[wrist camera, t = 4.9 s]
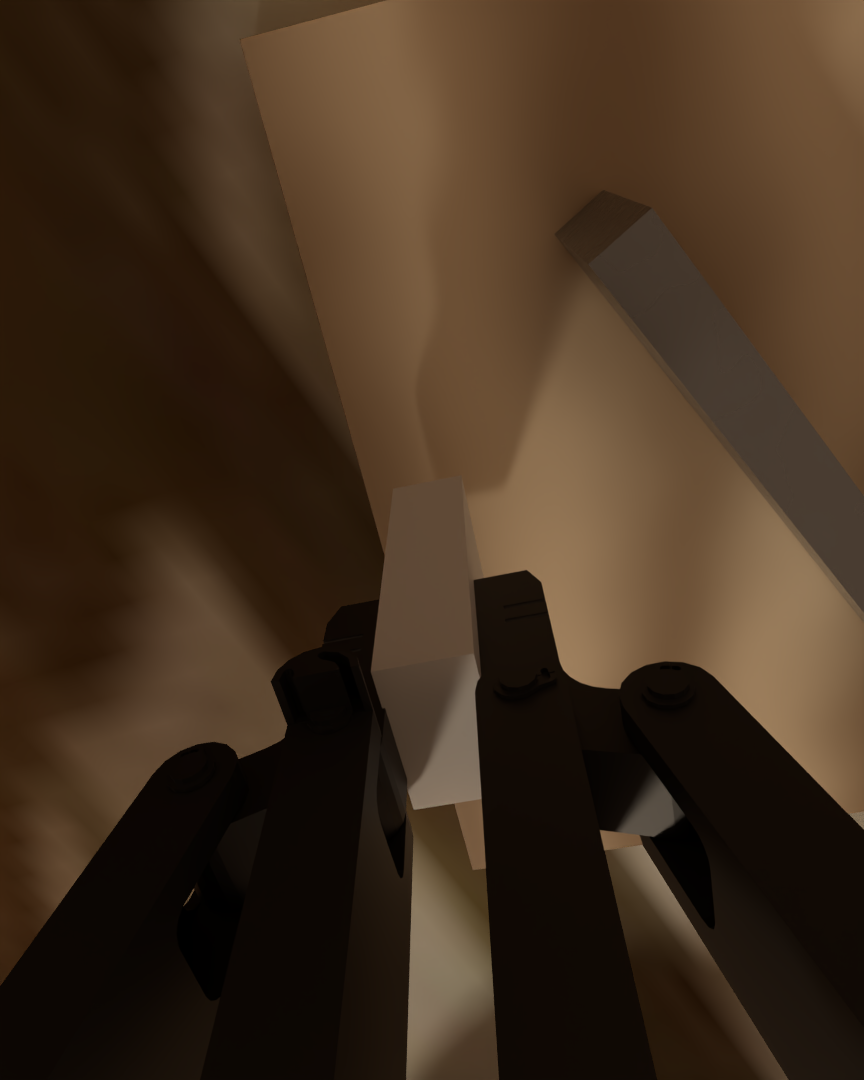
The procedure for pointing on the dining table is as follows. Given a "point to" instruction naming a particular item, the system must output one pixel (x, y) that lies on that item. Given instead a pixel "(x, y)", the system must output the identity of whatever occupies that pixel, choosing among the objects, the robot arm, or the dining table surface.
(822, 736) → the board
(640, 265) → the grey lever with knob
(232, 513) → the dining table surface
